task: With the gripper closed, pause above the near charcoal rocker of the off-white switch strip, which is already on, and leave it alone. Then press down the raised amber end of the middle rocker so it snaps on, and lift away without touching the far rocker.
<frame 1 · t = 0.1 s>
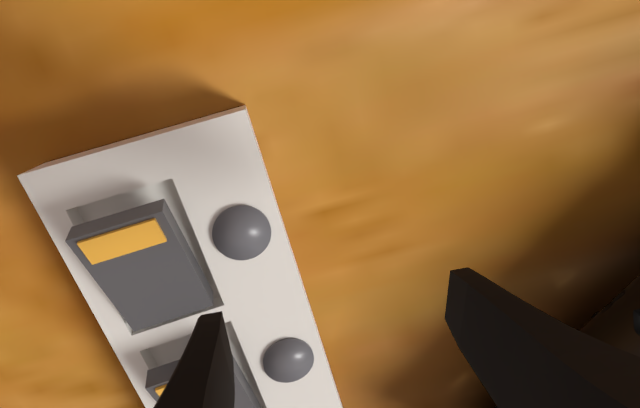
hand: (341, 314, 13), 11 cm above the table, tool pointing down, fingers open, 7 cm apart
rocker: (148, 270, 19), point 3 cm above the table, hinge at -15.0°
black foam roller: (612, 295, 29), on the table
middle rocker: (208, 398, 21), point 3 cm above the table, hinge at -15.0°
switch strip: (236, 348, 24), on the table
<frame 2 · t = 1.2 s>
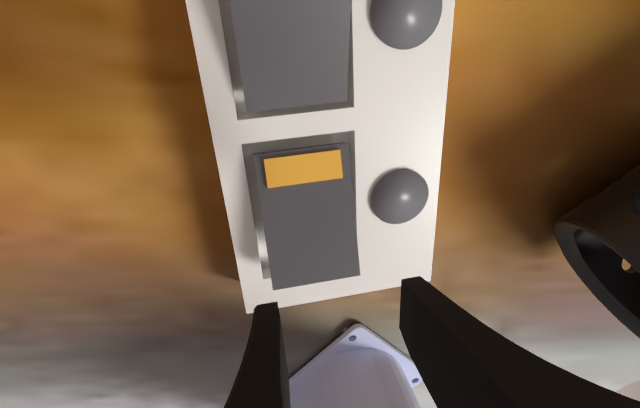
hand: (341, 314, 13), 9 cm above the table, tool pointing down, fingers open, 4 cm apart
middle rocker: (291, 23, 14), point 3 cm above the table, hinge at -15.0°
switch strip: (316, 13, 17), on the table
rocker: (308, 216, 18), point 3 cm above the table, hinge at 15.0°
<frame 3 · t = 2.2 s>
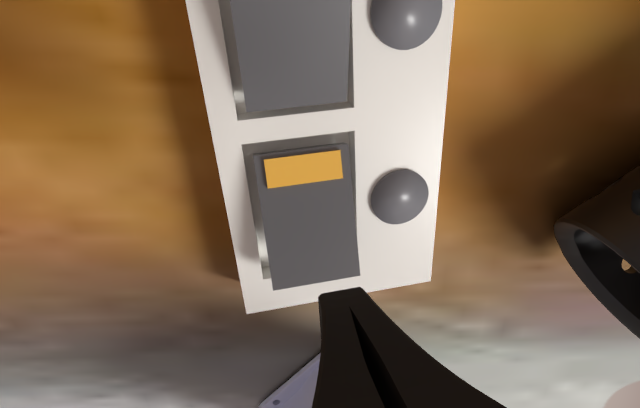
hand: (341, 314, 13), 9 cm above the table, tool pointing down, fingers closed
middle rocker: (291, 24, 14), point 3 cm above the table, hinge at -15.0°
switch strip: (316, 13, 17), on the table
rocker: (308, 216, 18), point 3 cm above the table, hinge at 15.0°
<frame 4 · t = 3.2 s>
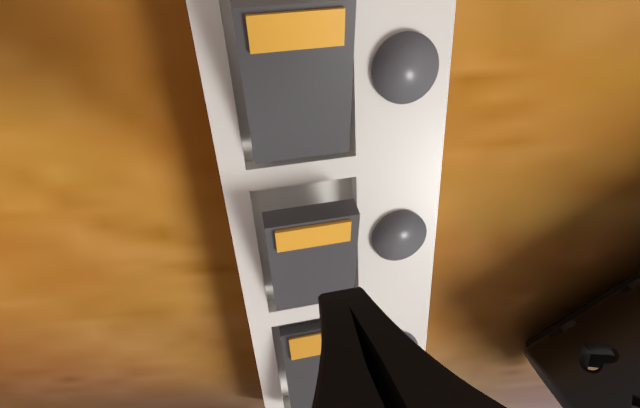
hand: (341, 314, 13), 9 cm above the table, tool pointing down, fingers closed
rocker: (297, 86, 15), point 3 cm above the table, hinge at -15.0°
middle rocker: (312, 260, 19), point 3 cm above the table, hinge at -15.0°
switch strip: (329, 219, 22), on the table
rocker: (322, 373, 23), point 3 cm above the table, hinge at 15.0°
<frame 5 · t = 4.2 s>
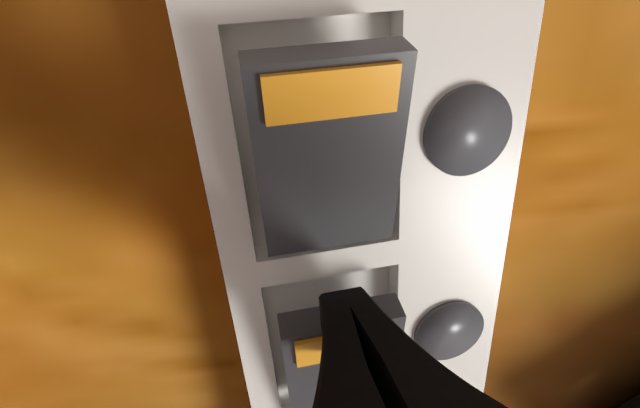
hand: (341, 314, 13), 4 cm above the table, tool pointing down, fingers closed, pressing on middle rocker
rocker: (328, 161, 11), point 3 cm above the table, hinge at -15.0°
middle rocker: (341, 369, 15), point 3 cm above the table, hinge at -11.3°, touching gripper
switch strip: (357, 302, 18), on the table
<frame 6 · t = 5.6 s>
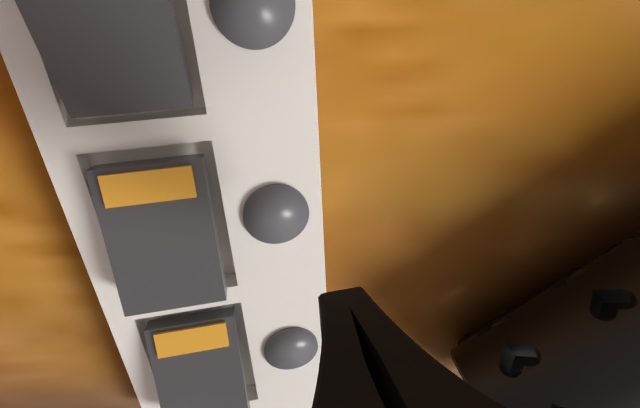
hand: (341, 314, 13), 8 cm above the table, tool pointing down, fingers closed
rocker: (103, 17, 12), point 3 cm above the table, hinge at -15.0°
black foam roller: (633, 231, 26), on the table
middle rocker: (163, 236, 16), point 3 cm above the table, hinge at 9.6°
switch strip: (207, 196, 19), on the table
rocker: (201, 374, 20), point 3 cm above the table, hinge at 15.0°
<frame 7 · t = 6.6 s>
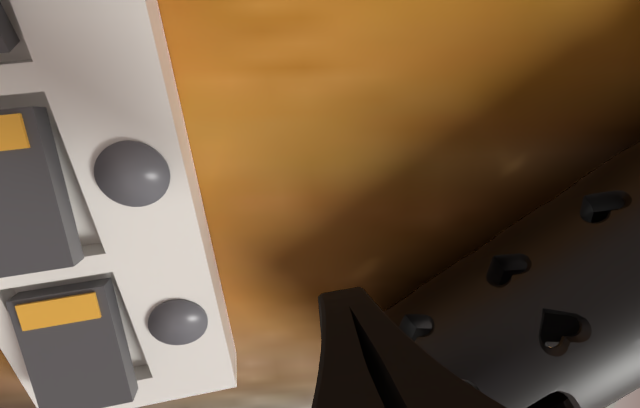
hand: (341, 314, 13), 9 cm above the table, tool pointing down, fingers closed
black foam roller: (557, 200, 25), on the table
middle rocker: (1, 195, 15), point 3 cm above the table, hinge at 15.6°
switch strip: (75, 160, 18), on the table
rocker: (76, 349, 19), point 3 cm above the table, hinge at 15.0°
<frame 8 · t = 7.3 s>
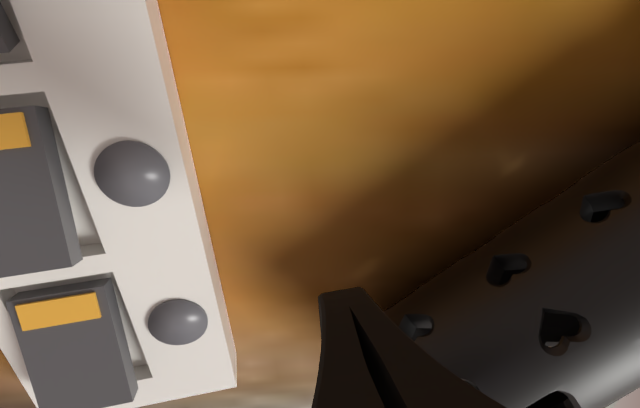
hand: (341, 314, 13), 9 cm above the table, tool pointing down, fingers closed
black foam roller: (557, 200, 25), on the table
middle rocker: (1, 195, 15), point 3 cm above the table, hinge at 18.5°
switch strip: (75, 160, 18), on the table
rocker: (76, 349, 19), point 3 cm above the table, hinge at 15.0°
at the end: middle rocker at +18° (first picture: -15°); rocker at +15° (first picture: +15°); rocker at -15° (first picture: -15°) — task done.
